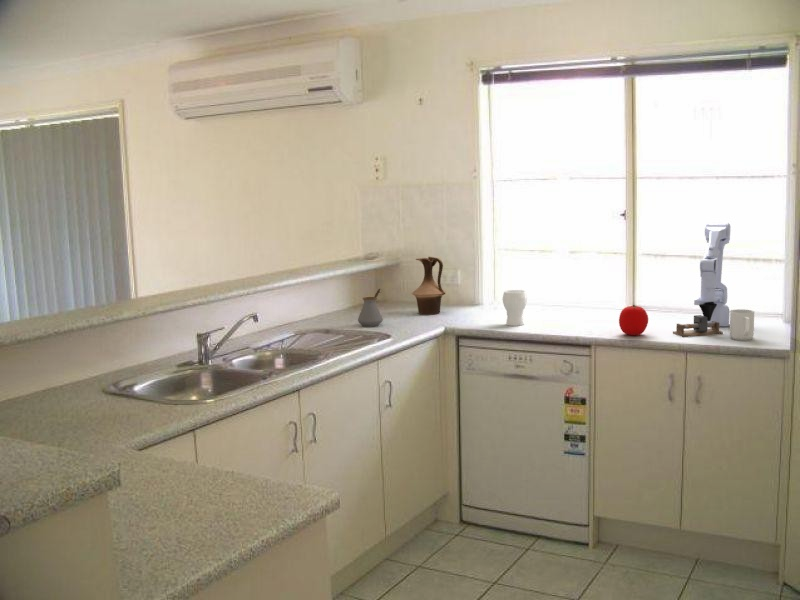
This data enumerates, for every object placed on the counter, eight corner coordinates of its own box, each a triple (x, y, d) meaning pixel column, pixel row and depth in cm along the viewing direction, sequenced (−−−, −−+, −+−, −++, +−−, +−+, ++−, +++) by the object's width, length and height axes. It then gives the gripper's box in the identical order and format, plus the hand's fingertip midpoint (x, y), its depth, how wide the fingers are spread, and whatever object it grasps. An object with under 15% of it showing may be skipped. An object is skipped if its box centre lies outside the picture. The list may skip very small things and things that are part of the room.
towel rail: (712, 330, 357) (712, 320, 356) (722, 334, 349) (723, 323, 348) (672, 333, 353) (672, 323, 352) (682, 337, 345) (683, 326, 345)
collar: (700, 329, 354) (700, 315, 353) (707, 331, 349) (707, 317, 348) (693, 329, 353) (693, 315, 352) (700, 332, 348) (700, 317, 347)
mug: (726, 336, 344) (727, 309, 342) (749, 336, 343) (750, 309, 341) (735, 342, 332) (736, 314, 330) (759, 342, 331) (760, 314, 329)
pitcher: (453, 311, 421) (452, 255, 417) (436, 317, 407) (435, 259, 403) (423, 309, 431) (421, 254, 426) (405, 314, 417) (403, 257, 412)
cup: (500, 326, 380) (500, 292, 378) (506, 322, 390) (505, 289, 388) (524, 327, 376) (523, 293, 374) (529, 322, 386) (528, 290, 384)
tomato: (630, 338, 345) (631, 308, 343) (612, 333, 356) (613, 304, 354) (655, 335, 350) (655, 305, 348) (636, 330, 361) (636, 301, 359)
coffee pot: (378, 328, 384) (377, 295, 381) (354, 327, 387) (353, 294, 385) (392, 319, 404) (391, 288, 401) (369, 319, 407) (368, 288, 405)
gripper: (711, 285, 356) (710, 317, 358) (688, 288, 349) (687, 321, 351) (726, 287, 350) (725, 319, 352) (702, 290, 343) (701, 323, 345)
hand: (707, 320), depth 351 cm, fingers closed
